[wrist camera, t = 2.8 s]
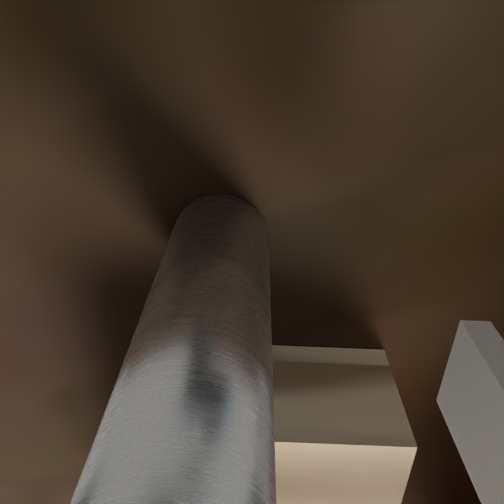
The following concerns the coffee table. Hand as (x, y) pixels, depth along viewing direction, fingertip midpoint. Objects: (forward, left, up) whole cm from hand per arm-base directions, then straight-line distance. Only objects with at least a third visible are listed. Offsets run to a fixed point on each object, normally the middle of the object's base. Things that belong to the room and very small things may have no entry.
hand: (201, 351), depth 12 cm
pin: (0, 0, -6) cm, 6 cm away
